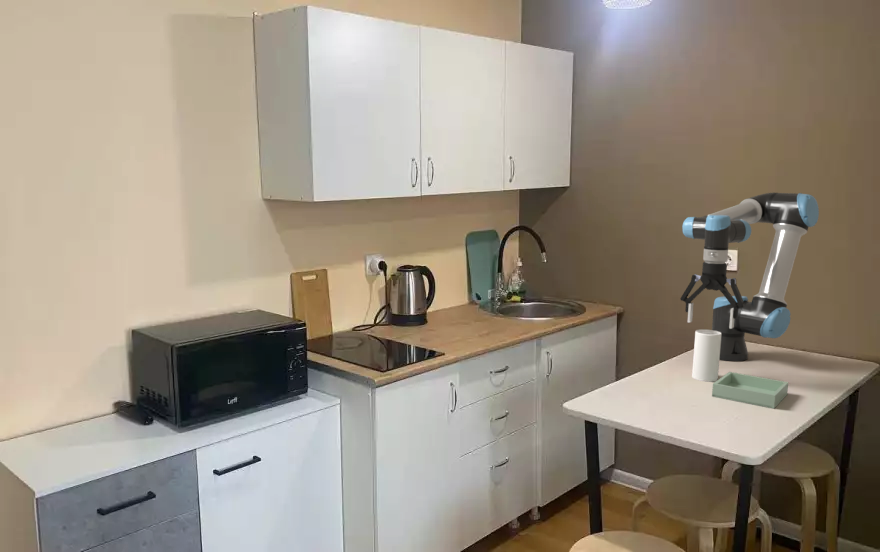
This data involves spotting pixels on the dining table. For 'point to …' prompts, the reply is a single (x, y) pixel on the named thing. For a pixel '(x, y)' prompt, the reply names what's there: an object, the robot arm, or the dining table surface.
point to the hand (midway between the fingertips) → (710, 325)
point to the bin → (750, 389)
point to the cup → (706, 355)
